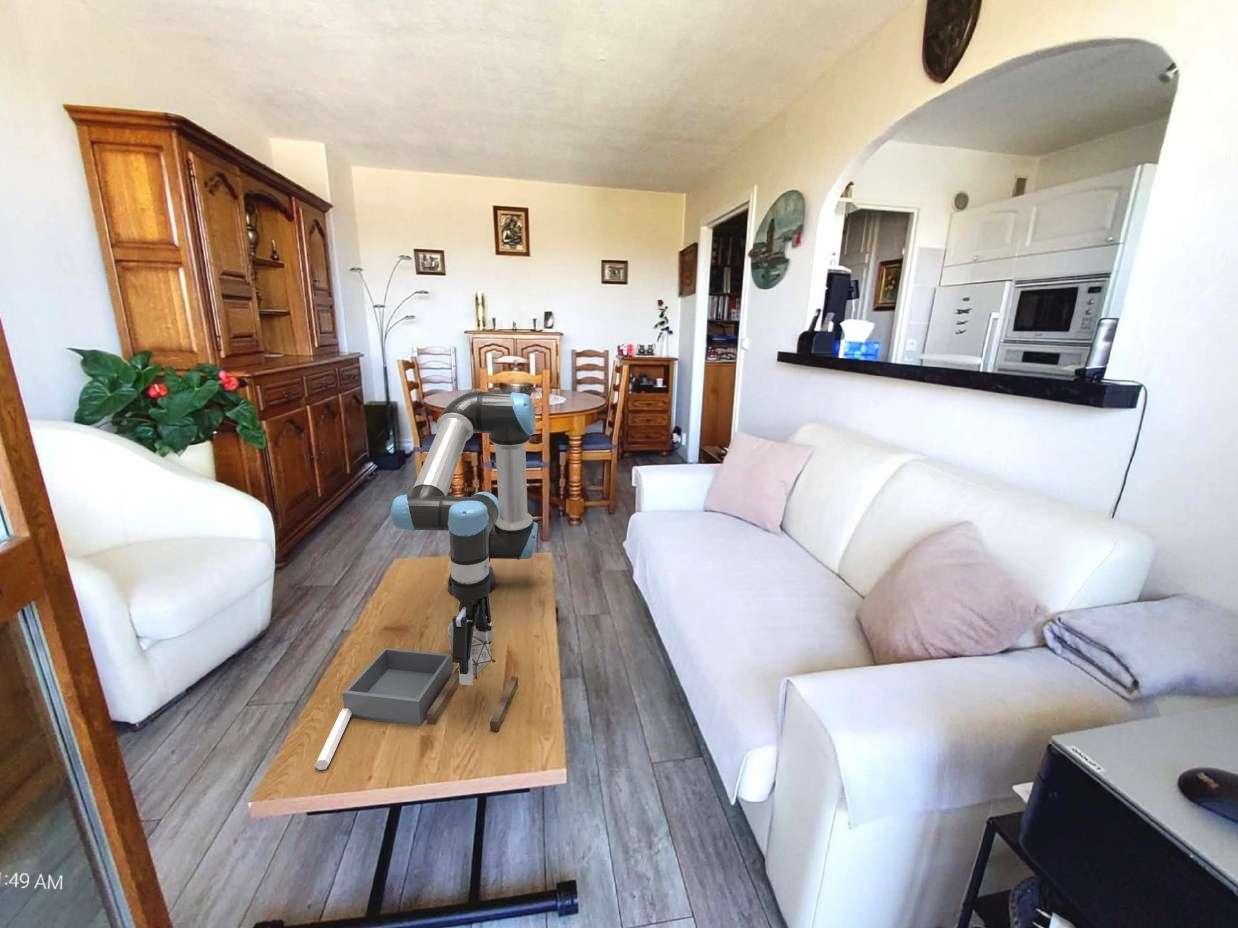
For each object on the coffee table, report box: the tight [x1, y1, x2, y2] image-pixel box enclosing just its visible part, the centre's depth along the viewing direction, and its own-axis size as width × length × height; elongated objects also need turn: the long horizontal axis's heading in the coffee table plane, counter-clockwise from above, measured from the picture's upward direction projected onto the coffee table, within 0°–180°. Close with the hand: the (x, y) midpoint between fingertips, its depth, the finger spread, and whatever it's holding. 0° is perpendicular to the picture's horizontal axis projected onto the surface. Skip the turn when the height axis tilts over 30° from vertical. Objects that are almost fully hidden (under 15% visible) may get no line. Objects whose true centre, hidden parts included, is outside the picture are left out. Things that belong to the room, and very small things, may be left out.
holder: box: [426, 669, 519, 733], centre depth 108 cm, size 14×15×2 cm
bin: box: [341, 647, 454, 727], centre depth 109 cm, size 16×17×6 cm
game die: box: [451, 636, 497, 681], centre depth 105 cm, size 9×8×10 cm
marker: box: [314, 707, 352, 771], centre depth 98 cm, size 3×2×16 cm
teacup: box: [446, 617, 493, 653], centre depth 126 cm, size 14×11×8 cm
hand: (474, 669), depth 106 cm, fingers closed on game die, 8 cm apart
